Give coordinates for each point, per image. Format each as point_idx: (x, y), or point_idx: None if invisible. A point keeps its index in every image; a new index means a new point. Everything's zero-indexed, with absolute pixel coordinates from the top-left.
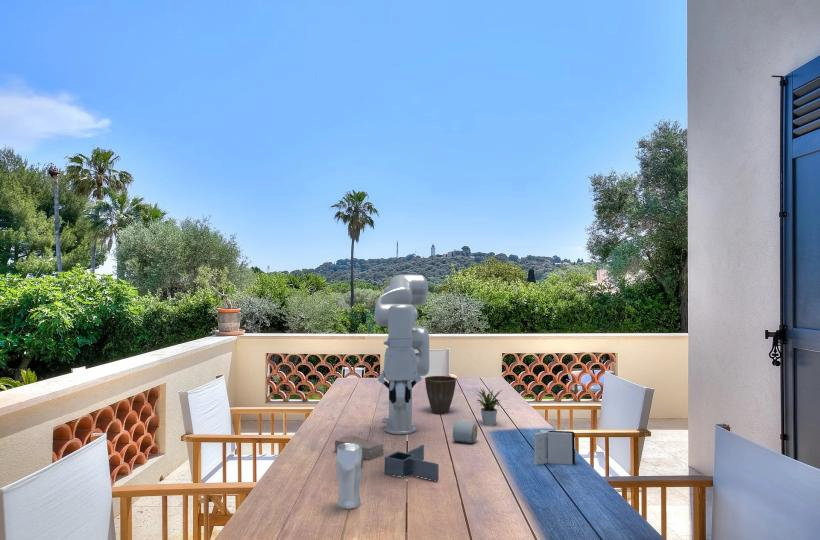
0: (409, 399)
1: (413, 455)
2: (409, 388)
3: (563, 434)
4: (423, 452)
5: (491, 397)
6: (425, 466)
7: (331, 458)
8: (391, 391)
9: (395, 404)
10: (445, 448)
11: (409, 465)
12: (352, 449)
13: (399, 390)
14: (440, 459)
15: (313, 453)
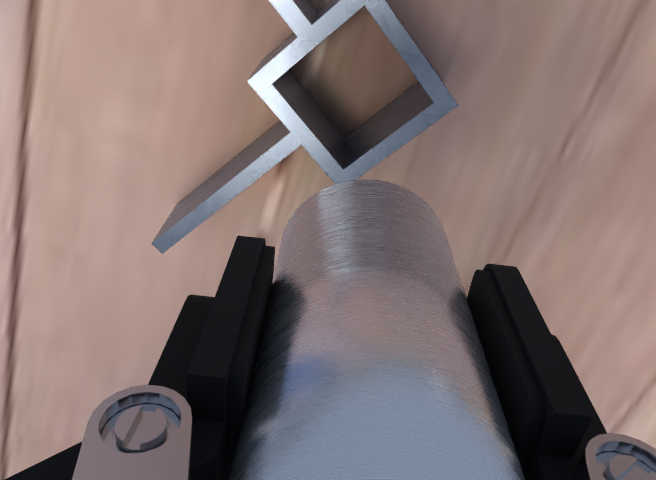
0: (209, 300)
1: (263, 79)
2: (160, 416)
3: None
4: (166, 223)
5: None
6: None
7: (603, 359)
8: (573, 438)
9: (452, 257)
10: (29, 333)
11: (311, 15)
12: None
13: (435, 380)
14: (82, 198)
15: (648, 433)
